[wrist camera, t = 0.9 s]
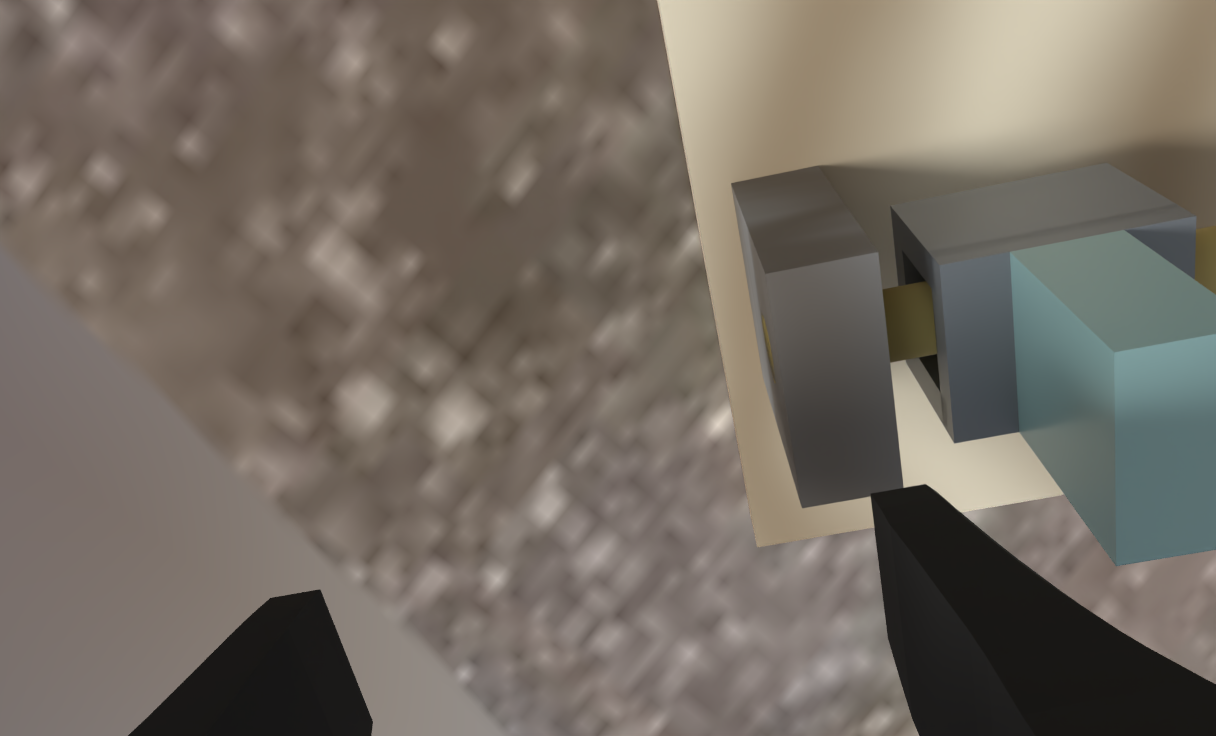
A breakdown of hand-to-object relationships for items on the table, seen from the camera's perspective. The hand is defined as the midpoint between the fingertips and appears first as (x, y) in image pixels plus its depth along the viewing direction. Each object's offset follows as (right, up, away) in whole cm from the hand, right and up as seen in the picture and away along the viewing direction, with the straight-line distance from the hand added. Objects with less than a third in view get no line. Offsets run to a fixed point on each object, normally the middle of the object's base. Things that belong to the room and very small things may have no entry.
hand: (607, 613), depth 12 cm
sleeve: (+7, +5, +6) cm, 10 cm away
